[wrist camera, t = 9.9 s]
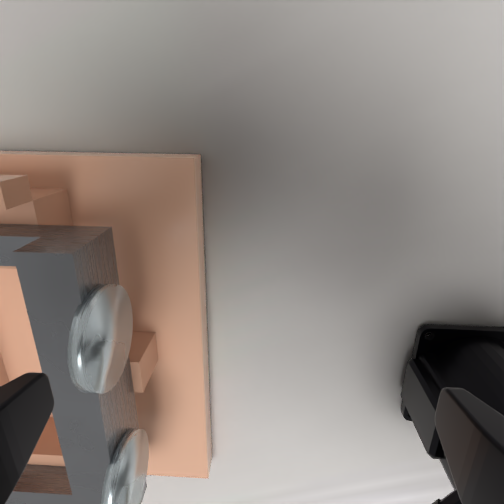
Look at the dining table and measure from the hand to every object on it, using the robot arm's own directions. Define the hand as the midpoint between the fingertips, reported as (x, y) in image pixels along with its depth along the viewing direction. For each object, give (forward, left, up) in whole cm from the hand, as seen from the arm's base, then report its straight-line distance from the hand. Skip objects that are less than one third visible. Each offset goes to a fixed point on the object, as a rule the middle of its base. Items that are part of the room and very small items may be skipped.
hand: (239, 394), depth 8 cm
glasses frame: (+10, +6, -7) cm, 14 cm away
